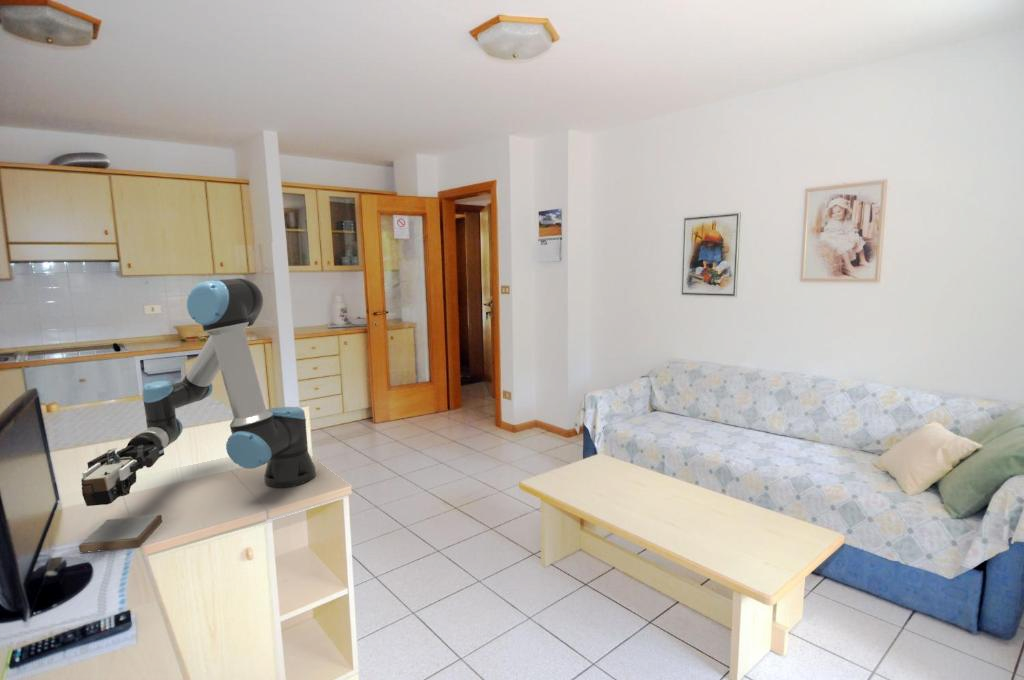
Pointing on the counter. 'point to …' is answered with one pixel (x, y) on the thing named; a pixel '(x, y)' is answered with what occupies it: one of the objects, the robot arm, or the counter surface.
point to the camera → (107, 481)
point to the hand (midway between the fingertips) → (103, 476)
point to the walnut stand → (121, 533)
